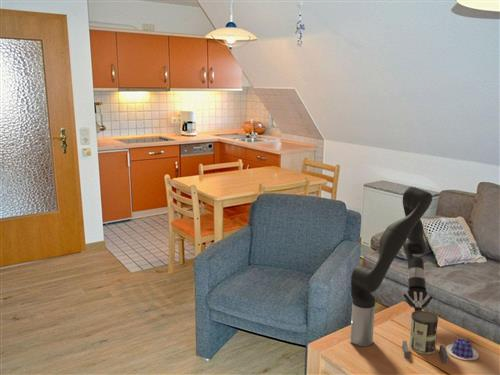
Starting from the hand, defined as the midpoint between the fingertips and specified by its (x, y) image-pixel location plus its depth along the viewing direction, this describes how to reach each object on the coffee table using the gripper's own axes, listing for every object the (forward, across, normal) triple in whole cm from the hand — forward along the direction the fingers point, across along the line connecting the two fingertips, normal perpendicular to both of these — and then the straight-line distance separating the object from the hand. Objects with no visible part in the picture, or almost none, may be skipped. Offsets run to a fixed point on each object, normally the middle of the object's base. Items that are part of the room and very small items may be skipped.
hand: (418, 316), depth 195 cm
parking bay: (+18, 0, -8) cm, 20 cm away
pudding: (+15, +16, -4) cm, 22 cm away
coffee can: (+14, 0, -4) cm, 15 cm away
